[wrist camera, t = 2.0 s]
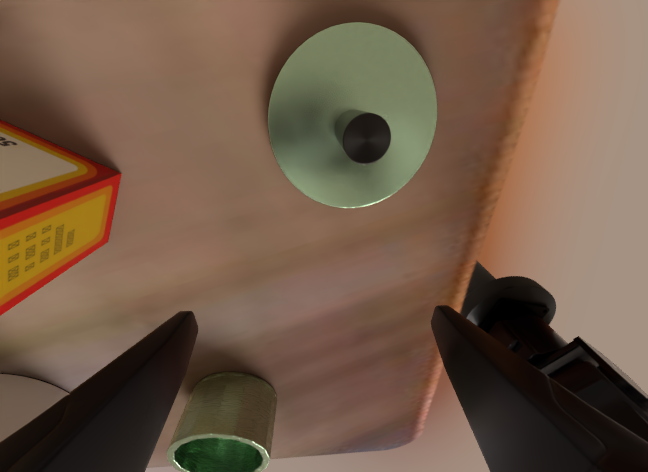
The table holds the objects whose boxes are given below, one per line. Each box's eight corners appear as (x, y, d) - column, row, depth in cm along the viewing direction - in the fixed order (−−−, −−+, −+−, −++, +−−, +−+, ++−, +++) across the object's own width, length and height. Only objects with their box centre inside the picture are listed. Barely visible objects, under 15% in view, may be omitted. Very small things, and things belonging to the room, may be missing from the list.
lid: (460, 58, 16) (534, 37, 11) (394, 216, 21) (422, 255, 16) (286, -1, 14) (270, -61, 9) (260, 185, 19) (239, 217, 14)
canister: (282, 377, 31) (276, 439, 25) (270, 422, 35) (262, 483, 30) (193, 366, 29) (165, 430, 24) (192, 415, 34) (168, 477, 28)
